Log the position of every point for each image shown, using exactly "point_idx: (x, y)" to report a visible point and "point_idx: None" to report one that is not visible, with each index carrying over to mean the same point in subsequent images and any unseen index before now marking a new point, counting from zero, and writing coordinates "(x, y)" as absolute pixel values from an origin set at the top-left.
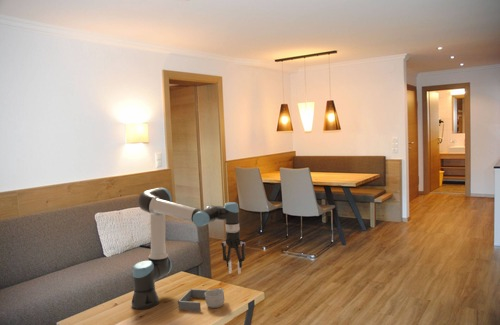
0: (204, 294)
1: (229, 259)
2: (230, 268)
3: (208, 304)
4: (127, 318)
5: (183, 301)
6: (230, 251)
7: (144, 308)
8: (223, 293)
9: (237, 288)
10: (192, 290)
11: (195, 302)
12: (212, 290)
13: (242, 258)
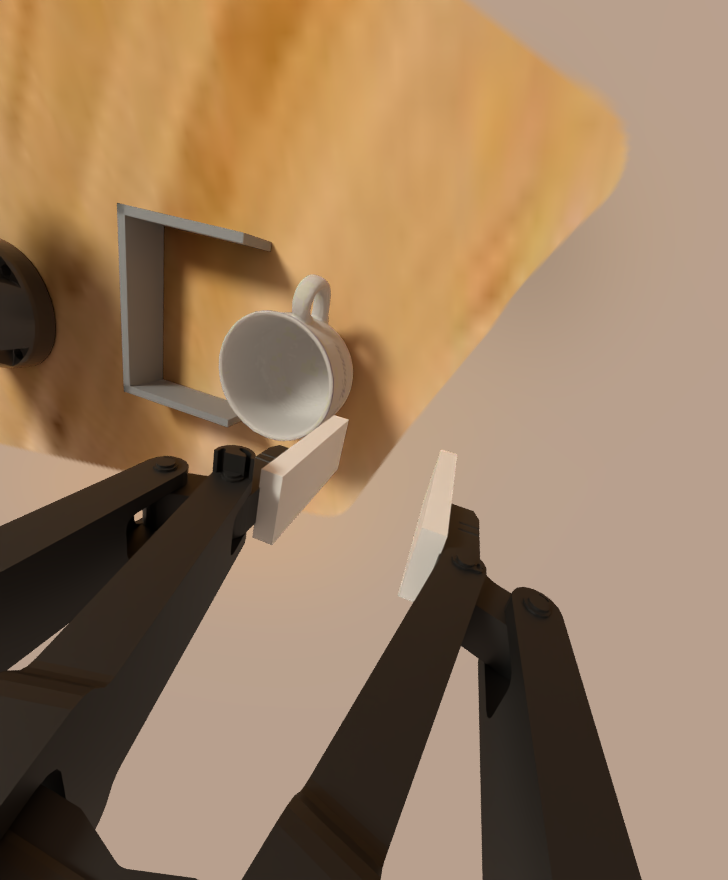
0: (223, 387)
1: (246, 496)
2: (320, 477)
3: (275, 409)
4: (28, 436)
5: (148, 397)
6: (147, 692)
7: (32, 365)
8: (334, 393)
9: (437, 31)
10: (135, 217)
11: (206, 419)
12: (254, 318)
13: (492, 701)
